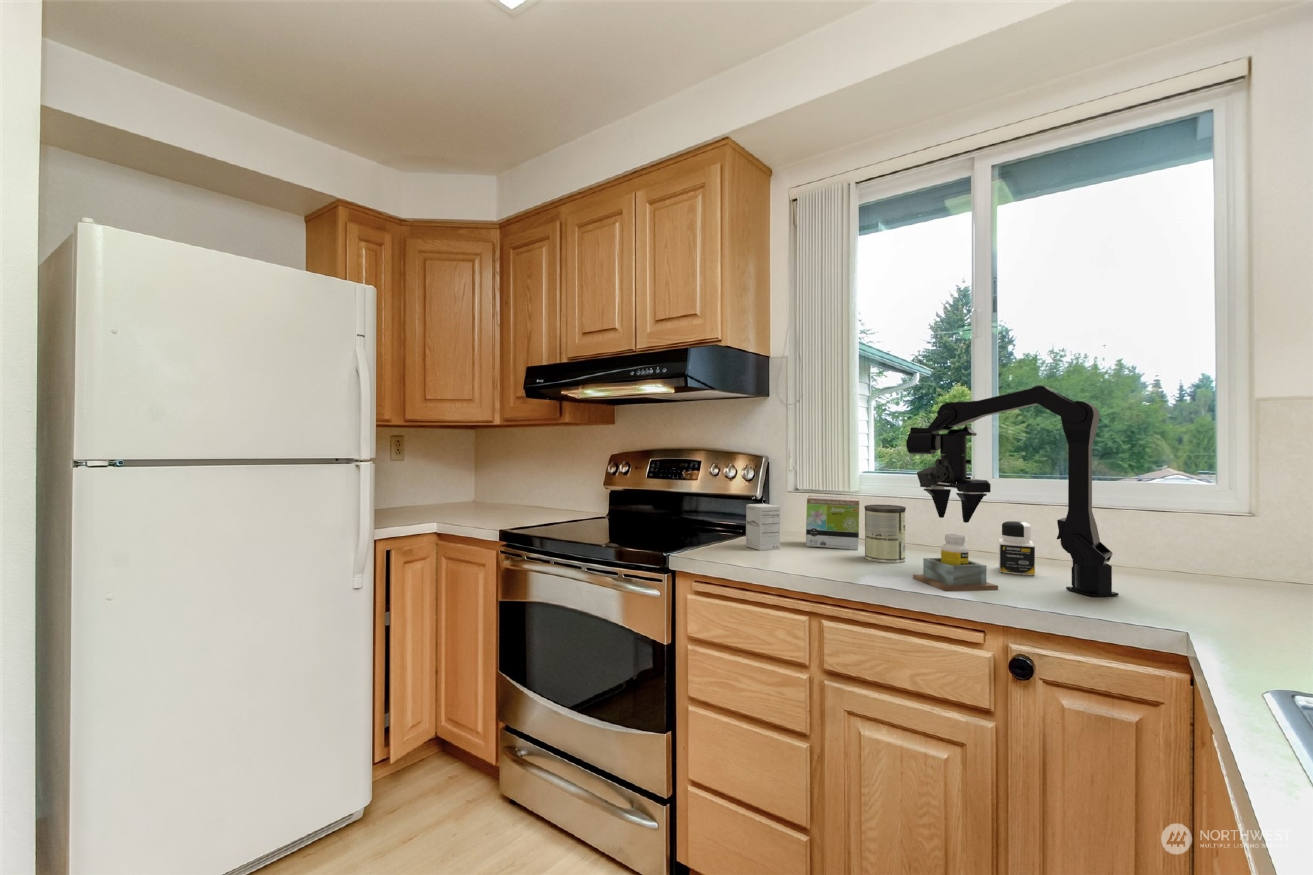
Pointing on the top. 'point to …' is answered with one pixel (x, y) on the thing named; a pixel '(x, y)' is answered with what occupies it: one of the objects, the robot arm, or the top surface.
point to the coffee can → (885, 533)
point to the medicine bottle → (1016, 549)
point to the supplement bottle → (954, 550)
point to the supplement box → (763, 526)
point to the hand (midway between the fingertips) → (953, 519)
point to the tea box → (832, 522)
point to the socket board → (954, 576)
